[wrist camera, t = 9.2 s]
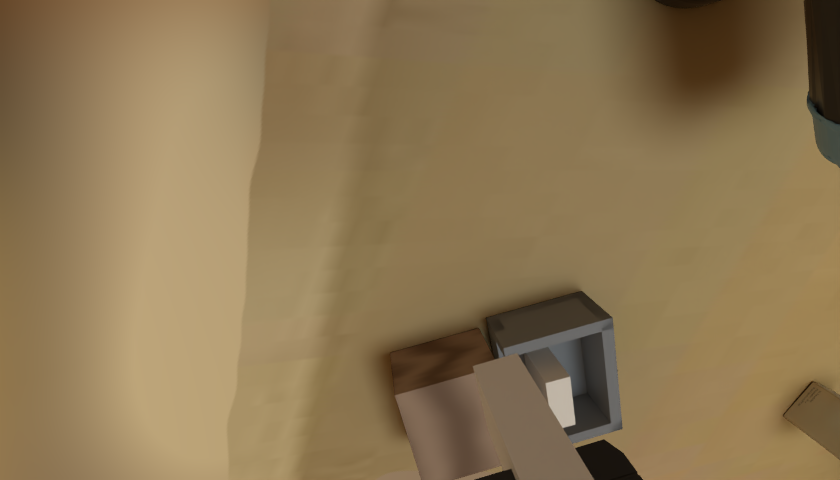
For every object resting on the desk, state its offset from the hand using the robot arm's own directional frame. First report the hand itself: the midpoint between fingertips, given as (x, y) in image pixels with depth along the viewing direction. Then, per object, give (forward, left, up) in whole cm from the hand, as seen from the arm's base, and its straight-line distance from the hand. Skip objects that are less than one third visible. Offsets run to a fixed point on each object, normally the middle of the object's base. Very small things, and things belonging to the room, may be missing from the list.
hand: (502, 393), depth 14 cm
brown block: (+1, +22, -28) cm, 36 cm away
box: (-10, +22, -28) cm, 37 cm away
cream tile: (-8, +22, -24) cm, 34 cm away
